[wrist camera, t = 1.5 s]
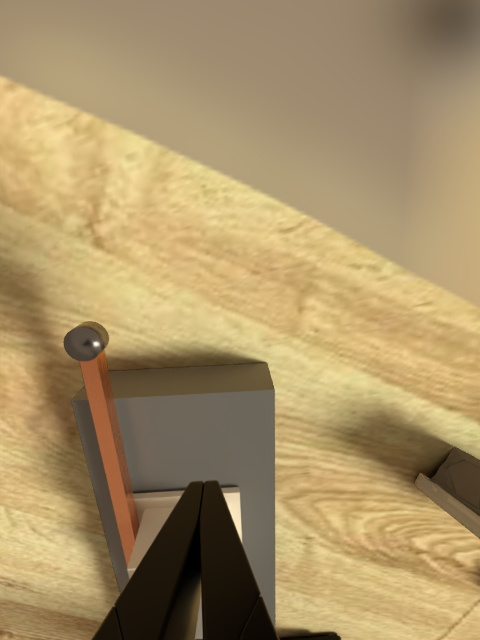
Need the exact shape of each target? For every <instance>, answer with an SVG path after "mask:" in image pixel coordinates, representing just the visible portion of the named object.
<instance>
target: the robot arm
mask: <svg viewBox="0 0 480 640" xmlns="http://www.w3.org/2000/svg"><path fill="white" fill-rule="evenodd" d="M200 598H201V600H202V631H203V640H280V639H279V637H278V635H277V632H276V630H275V627H274V625H273V622H272V620H271V618H270V615H269V613H268V610H267V607H266V605H265V602H264V600H263V597H262V596H261V592H260V589H259V587H258V584H257V581H256V579H255V576H254V574H253V571H252V568H251V566H250V563H249V560H248V558H247V555H246V552H245V550H244V547H243V545H242V542H241V539H240V537H239V534H238V531H237V529H236V526H235V523H234V521H233V518H232V516H231V513H230V510H229V508H228V505H227V502H226V500H225V497H224V494H223V492H222V489H221V487H220V484H219V482H218V480H208V481H205V482H203V481H193V482H190V483H189V484H188V486H187V488H186V489H185V491H184V492H183V494H182V496H181V497H180V499H179V501H178V502H177V504H176V505H175V507H174V509H173V510H172V512H171V513H170V515H169V517H168V518H167V520H166V521H165V523H164V525H163V526H162V528H161V530H160V531H159V533H158V534H157V536H156V538H155V539H154V541H153V542H152V544H151V546H150V547H149V549H148V550H147V552H146V554H145V555H144V557H143V559H142V560H141V562H140V563H139V565H138V567H137V568H136V570H135V571H134V573H133V575H132V576H131V578H130V579H129V581H128V583H127V584H126V586H125V587H124V589H123V591H122V592H121V594H120V596H119V597H118V599H117V600H116V602H115V607H112V608H111V610H110V611H109V613H108V615H107V616H106V618H105V619H104V621H103V623H102V624H101V626H100V627H99V629H98V631H97V632H96V634H95V635H94V637H93V638H92V640H195V634H196V627H197V620H198V612H199V605H200ZM285 640H341V637H340V636H324V637H311V638H298V639H285Z"/></svg>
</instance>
